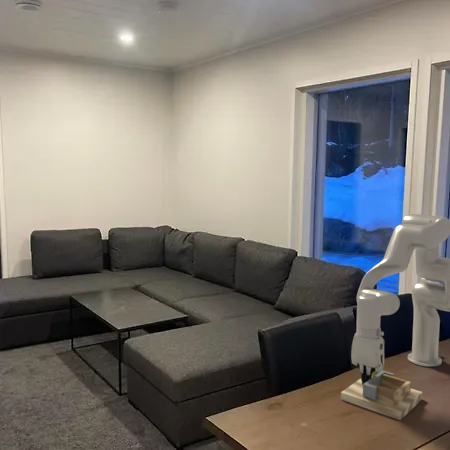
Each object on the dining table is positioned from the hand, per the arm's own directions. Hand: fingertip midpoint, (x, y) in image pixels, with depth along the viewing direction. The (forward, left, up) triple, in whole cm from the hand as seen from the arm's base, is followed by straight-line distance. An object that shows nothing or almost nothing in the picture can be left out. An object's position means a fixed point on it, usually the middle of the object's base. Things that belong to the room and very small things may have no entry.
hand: (366, 384), depth 164 cm
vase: (-15, -3, -4) cm, 16 cm away
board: (0, +6, -4) cm, 7 cm away
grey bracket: (0, +4, -1) cm, 4 cm away
